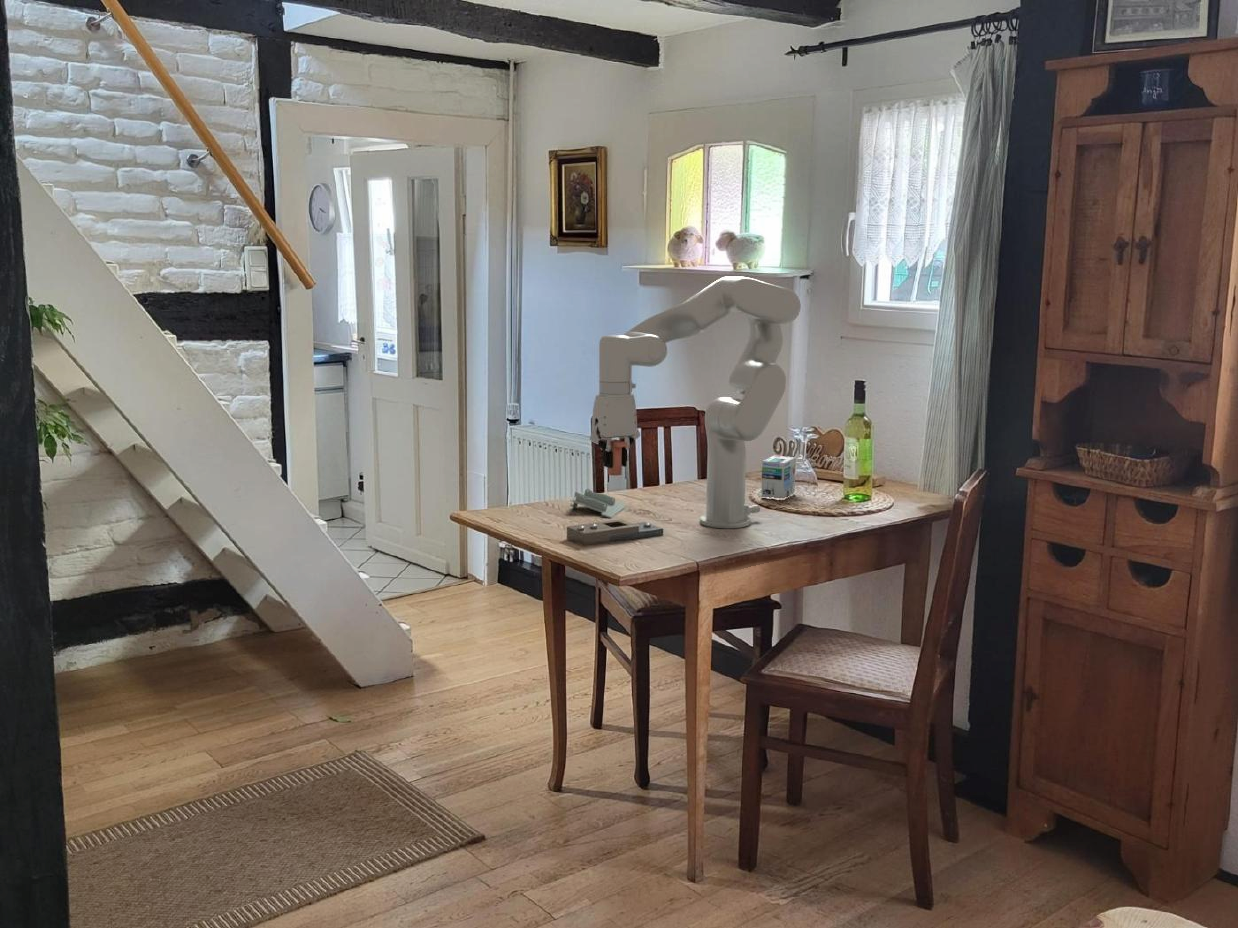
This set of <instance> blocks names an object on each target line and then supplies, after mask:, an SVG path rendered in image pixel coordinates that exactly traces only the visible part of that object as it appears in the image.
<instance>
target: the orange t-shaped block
mask: <svg viewBox="0 0 1238 928" xmlns="http://www.w3.org/2000/svg"><path fill="white" fill-rule="evenodd" d="M622 447H627V442H624V441H620V440H619V439H617V438H612V441H611V451H612V452H613V467H612V468H607V472H608V475H609V476H614V477H616V476H622V473H623V471H622V470H623V466H622Z"/></svg>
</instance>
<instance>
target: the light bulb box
mask: <svg viewBox="0 0 1238 928" xmlns="http://www.w3.org/2000/svg"><path fill="white" fill-rule="evenodd" d="M796 458H797V457H796V456H795V457H793V456H783V455H782V456H781V455H776V454H775V455H772V456H770V457H768V458H766V459H764V460H762V462H761V464H762V465H761V490H760V491H761V492H760V493H761V494H760V498H761V497H774V498H785V497H788V496H790V495H791V494H793V493H794V492H795V488H796V487H795V486H796V466H797V465H796V463H797V462H796V461H797V459H796Z"/></svg>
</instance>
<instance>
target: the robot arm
mask: <svg viewBox="0 0 1238 928" xmlns="http://www.w3.org/2000/svg"><path fill="white" fill-rule="evenodd" d="M733 313H738V314H746V316H747V320H748V324H749V329H750V330H749V337H748V339H747V342H746V343H745V346H744V349H743V350H742V352H741V354H740V356H739V357H738V359H737V362H736V363H735V365H734V367H733V368H732V371H731V373H730V375H729V379H728V382H729V383H728V384H729V387H730V390H731V391H732V392H733V393H734V394H735V395H737V396H740V397H742V399H740V398H735V397H730V396H729V397H728V396H722V397H721V396H720V397H717V398H715V399H714V400H712V401H711V402H709V404H708V406H707V407H706V410H705V413H704V427H705V434H706V442H707V462H706V465H707V466H706V502H705V503H706V508H705V509H706V510H705V511H706V512H705V514H703V515H701V516H700V518H699V523H700V524H702V525H704V526H707V527H709V528H716V529H738V528H739V529H740V528H743V527H748V526H749V525H751V518H750V517H749V515H750V514H758V513H759V512H761V511H760V510H761V509H760V506H759V505H758V504H755V505H750V506H749V504H747V503H745V502H746V501H745V500H746V474H747V473H746V472H747V471H746V467H747V466H746V465H747V449H746V443H745V442H751V441H754V440H756V439H758V438H759V437H760V436H761V435H762V434H763V433H764V431H765V430H766V428H767V427H768V425H769V423H770V421H771V419H772V417H773V416H774V414H775V411H776V410H777V408H778V406H779V404H780V402H781V400H782V399H783V396H784V395H785V391H786V387H787V377H786V374H785V371H784V370H783V368H782V367H781V366H780V365H779V364H777V363H776V362H777V360H778V359H779V356H780V354H781V352H782V349H783V348H782V347H783V343H784V342H783V340H784V338H783V331H782V330H783V329H782V325H787V324H790V323H792V322H793V321H795V320H796V319H797V318H798V317H799V314H800V313H801V300H800V298H799V296H798V295H797V293H796V292H795V291H793V290H792V289H790V288H787V287H784V286H783V287H782V286H779V285H776V284H773V283H768V282H765V281H761V280H758V279H755V278H751V277H748V276H747V277H745V276H723V277H721V278H719V279H717V280H716V281H714V282H712V283H711V284H709V285H707V286H706V287H705V288H703V289H701V290H700V291H699V292H697V293H695V294H693V295H692V296H690V297H689V298H687V300H685V301H683V302H682V303H679V304H677V305H674V306H673V307H670V308H667V309H666V310H664V311H662V312H660V313H657V314H655V315H653V316H651V317H648V318H647V319H645V320H642V321H641V322H640V323H638V324H637V325H635V326H634V327H632V328H631V329H629V330H628V331H627V332H625V333H624V334H623V335H622V334H608V335H604V336H602V337H601V338H600V339H599V345H598V347H599V351H598V352H599V356H598V358H599V359H598V361H599V363H598V365H599V366H598V367H599V368H598V370H599V374H598V375H599V376H598V378H599V380H598V381H599V382H598V385H599V386H598V387H599V388H598V389H599V390H598V391H599V392H598V394H596V395H595V397H594V398H595V399H594V402H593V407H592V408H593V409H592V418H591V421H592V422H591V434H590V436H589V441H590V442H593V443H595V444H596V445H597V446H598V447H599V449H600V450H601V451H602V464H603V467H604V468H607V469H608V468H612V467H613V452H612V451H611V441H612V438H613V439H617V438H618V440H620V441H624V442H627V447H622V467H627V466H628V455H629V454H628V450H630V447H631V446H632V444H633V443H634V441H636V440H637V439H639V438H640V437H641V432H640V431H639V428H638V416H637V415H638V413H637V406H636V399H635V396H634V393H632V392H633V389H635V388H636V386H637V384H636V382H633V379H632V378H633V377H632V376H633V374H632V371H633V370H632V367H633V366H638V367H648V368H651V367H652V368H653V367H656V366H658V365H660V364H662V363H663V361H665V359H666V357H667V356H668V355H667V354H668V347H667V343H670V342H672V341H676V340H681V339H688V338H691V337H695V336H699V335H700V334H702V333H704V332H705V331H707V330H709V329H710V328H711V327H713V326H714V325H716V324H718V323H719V322H720V321H722V320H723V319H725V318H726V317H728V316H729V315H731V314H733ZM599 437H600V438H599Z"/></svg>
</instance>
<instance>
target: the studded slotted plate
mask: <svg viewBox="0 0 1238 928" xmlns="http://www.w3.org/2000/svg"><path fill="white" fill-rule="evenodd" d="M656 536H664V528H662V527H660V526H658V525H654V524H652V523H650V522H647V521H641V522H636V523H635V522H633V523H632V522H630V521H627V520H624V519H621V518H620V519H619V518H618V519H613V520H607V521H606V520H604V521H599V522H598V521H597V522H592V523H591V522H589V523H584V524H582V523H581V524H576V525H568V526H566V540H568V541H571V542H573V543H576V544H577V545H580V546H582V547H588V546H595V545H603V544H607V543H608V544H609V543H616V542H623V541H629V540H634V539H644V538H649V537H650V538H651V537H656Z"/></svg>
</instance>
